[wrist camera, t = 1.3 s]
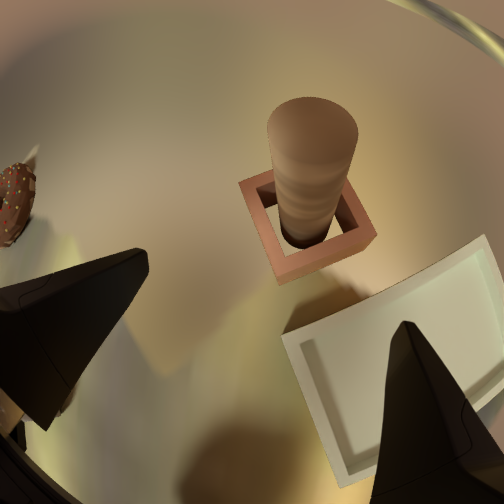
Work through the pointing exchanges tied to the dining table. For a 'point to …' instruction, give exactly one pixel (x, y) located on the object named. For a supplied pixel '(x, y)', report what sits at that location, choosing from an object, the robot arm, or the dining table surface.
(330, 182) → the dowel
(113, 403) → the dining table surface
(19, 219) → the donut
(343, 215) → the square frame
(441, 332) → the tray
